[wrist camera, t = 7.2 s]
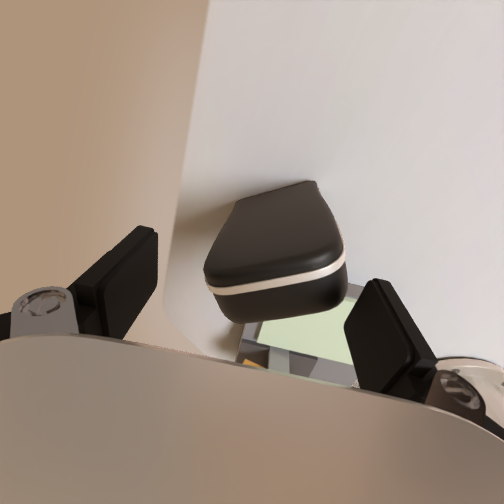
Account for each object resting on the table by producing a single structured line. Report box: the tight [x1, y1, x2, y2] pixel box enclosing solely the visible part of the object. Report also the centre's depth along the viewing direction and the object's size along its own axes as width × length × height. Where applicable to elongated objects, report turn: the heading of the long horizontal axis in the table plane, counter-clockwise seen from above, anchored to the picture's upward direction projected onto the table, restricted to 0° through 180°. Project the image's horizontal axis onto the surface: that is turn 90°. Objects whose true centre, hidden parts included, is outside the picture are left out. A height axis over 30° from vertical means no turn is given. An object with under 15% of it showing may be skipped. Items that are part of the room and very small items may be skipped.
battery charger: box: [203, 181, 348, 324], centre depth 16 cm, size 7×4×11 cm, turn 107°
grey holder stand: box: [235, 283, 364, 387], centre depth 24 cm, size 13×12×6 cm
